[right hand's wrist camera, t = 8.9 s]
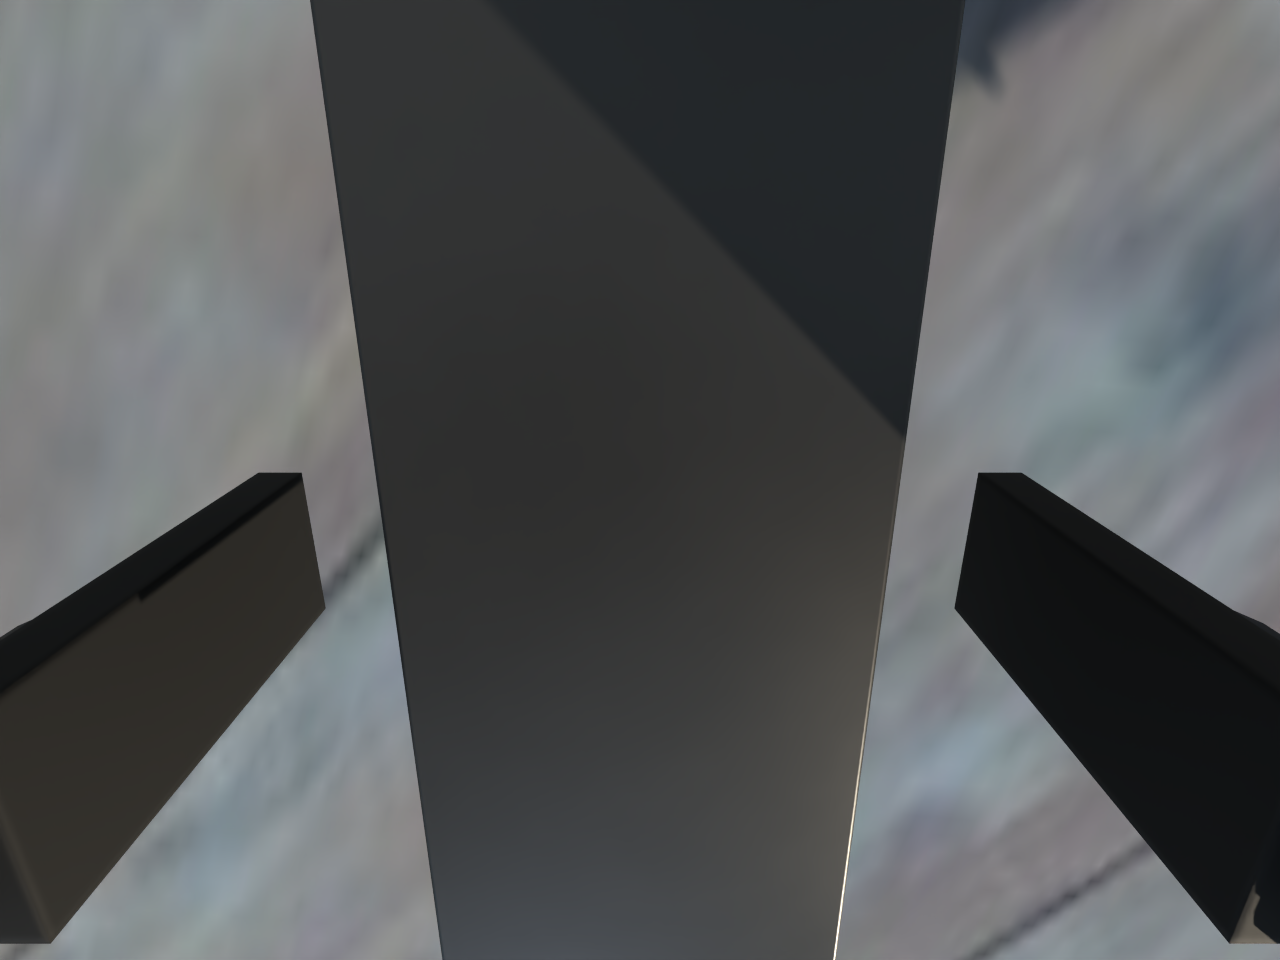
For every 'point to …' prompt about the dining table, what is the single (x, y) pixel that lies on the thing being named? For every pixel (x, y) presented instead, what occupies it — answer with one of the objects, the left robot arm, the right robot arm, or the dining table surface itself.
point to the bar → (638, 439)
